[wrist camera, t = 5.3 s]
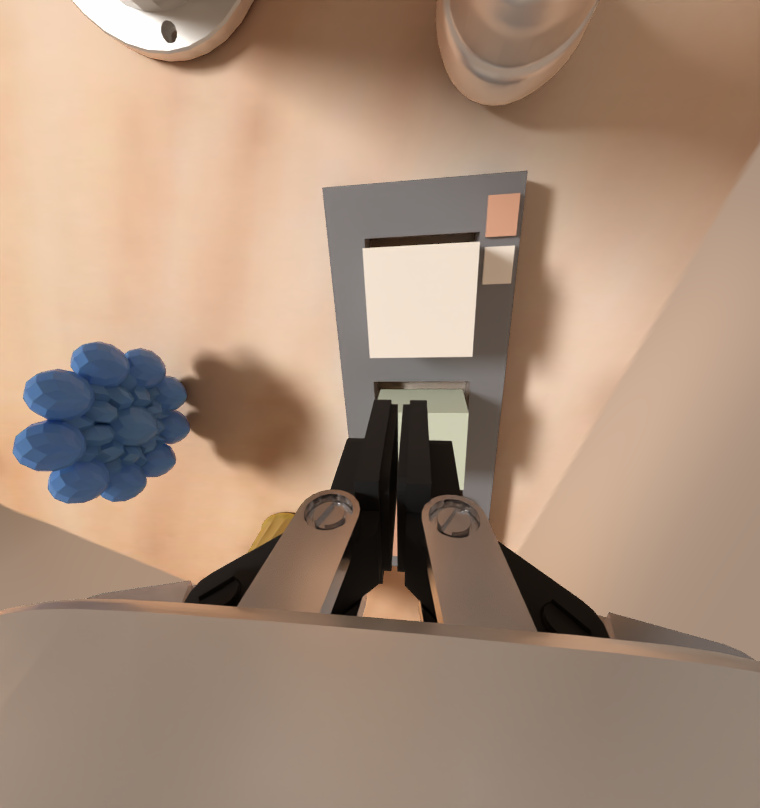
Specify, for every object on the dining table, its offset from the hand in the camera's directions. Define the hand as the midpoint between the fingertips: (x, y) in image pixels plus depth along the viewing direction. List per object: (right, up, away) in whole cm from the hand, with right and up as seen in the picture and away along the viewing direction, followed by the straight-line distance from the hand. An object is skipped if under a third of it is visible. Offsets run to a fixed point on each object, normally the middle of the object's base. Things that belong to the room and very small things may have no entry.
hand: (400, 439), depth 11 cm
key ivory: (+2, +8, +10) cm, 13 cm away
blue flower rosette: (-18, +3, +18) cm, 25 cm away
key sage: (+2, 0, +14) cm, 14 cm away
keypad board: (+3, +1, +15) cm, 16 cm away
